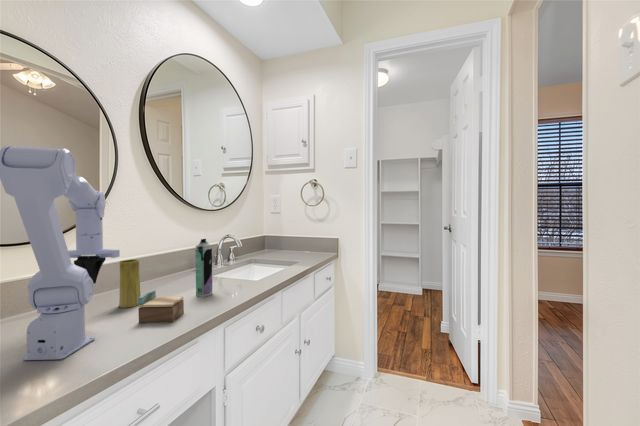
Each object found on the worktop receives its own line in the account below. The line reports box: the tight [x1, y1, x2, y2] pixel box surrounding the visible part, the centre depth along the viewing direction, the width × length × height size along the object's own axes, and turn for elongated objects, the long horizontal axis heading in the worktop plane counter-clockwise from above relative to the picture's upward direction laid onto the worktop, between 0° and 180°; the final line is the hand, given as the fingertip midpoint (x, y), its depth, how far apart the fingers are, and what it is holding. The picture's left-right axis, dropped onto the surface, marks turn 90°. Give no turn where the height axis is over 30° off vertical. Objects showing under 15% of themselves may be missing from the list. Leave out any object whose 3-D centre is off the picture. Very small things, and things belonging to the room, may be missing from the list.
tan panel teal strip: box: [137, 289, 184, 308], centre depth 82 cm, size 7×9×3 cm
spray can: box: [194, 238, 213, 298], centre depth 104 cm, size 6×6×20 cm
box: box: [138, 299, 185, 324], centre depth 82 cm, size 7×9×4 cm
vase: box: [118, 258, 142, 309], centre depth 94 cm, size 6×6×14 cm
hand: (90, 284), depth 80 cm, fingers closed
